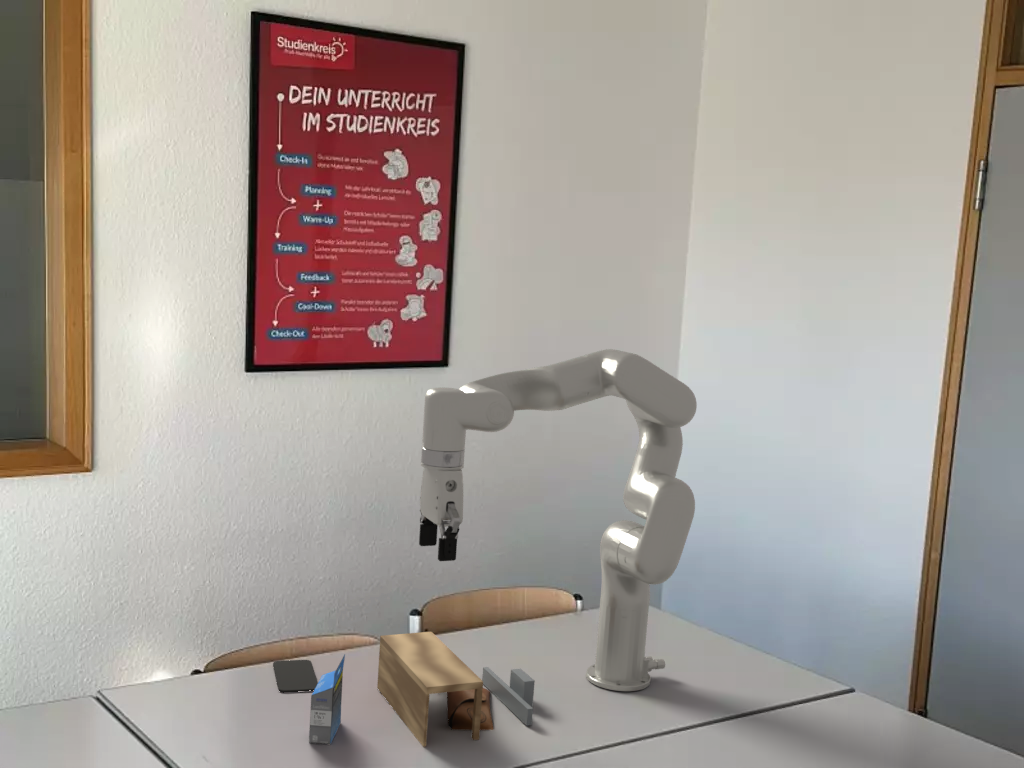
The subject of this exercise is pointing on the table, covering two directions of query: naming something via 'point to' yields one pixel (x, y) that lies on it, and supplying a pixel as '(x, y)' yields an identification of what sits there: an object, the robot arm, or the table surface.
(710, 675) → the table surface
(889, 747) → the table surface
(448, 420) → the robot arm
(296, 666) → the phone
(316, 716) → the blue cardboard box
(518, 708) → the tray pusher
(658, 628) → the table surface
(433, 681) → the oak counter
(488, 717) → the sunglasses case
